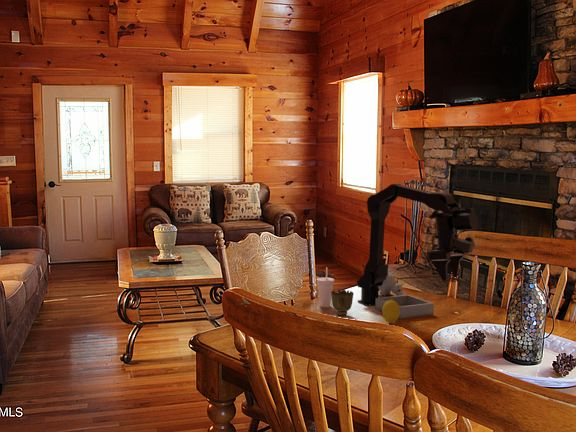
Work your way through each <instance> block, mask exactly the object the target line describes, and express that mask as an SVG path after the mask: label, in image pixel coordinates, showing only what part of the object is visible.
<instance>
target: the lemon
mask: <svg viewBox="0 0 576 432" xmlns="http://www.w3.org/2000/svg"><path fill="white" fill-rule="evenodd" d="M381 314H382V318H383V319H384V320H385V322H387V323H389V325H391V324H393V323H395V322H396V321H397V320H399V319H398V317H399V314H400V309H399V305H398V304H397V303H396V302H395V301H393V300H392V299H390V300H389V301H387V302H385V303H384V305H383V308H382V312H381Z"/></svg>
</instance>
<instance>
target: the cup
mask: <svg viewBox="0 0 576 432" xmlns="http://www.w3.org/2000/svg"><path fill="white" fill-rule="evenodd" d="M354 293H355V292H353V291H352V290H349V289H348V290H347V291H346V289H342V290H341V289H338V290H337V291H336V290H332V292H331V294H332V296H331V303H332V307H333V309H334V310H335V311H336V315H337V316H339V317H346V316H348V311H349V310H351V309H352V306H353V301H354V299H353V298H354Z"/></svg>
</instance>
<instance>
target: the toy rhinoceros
mask: <svg viewBox="0 0 576 432" xmlns="http://www.w3.org/2000/svg"><path fill="white" fill-rule="evenodd" d="M403 285H404V283H402V282H401V283H397V280H396V277H395V276H394V275H393V274H392V273H391V272H388V275H387V277H386V280H384V281H383V284H382V286H378V288H379V291H378V292H379V295H381V296H382V295H386V296H387V294H389V295H391V293H393V294H394V295H395V296H399V295H405V292H406V291H405V290H403Z"/></svg>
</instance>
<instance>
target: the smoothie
mask: <svg viewBox="0 0 576 432" xmlns="http://www.w3.org/2000/svg"><path fill="white" fill-rule="evenodd" d="M328 273H329V270H328V267H325V277H317V278H316V283H317V294H318V304H319V307H321V308H330V307H331V303H332V294H331V292H332V291H334V283H335V278H333V277H328V276H329V275H328Z"/></svg>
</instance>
